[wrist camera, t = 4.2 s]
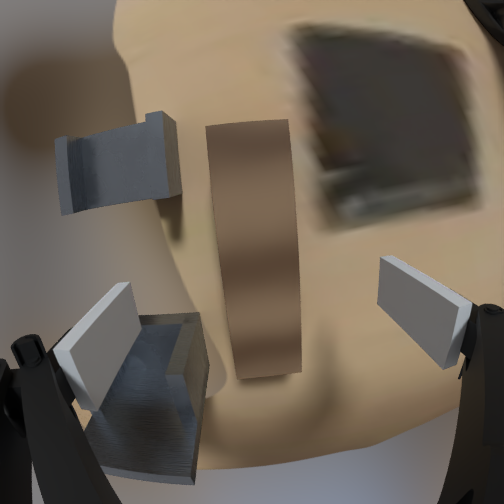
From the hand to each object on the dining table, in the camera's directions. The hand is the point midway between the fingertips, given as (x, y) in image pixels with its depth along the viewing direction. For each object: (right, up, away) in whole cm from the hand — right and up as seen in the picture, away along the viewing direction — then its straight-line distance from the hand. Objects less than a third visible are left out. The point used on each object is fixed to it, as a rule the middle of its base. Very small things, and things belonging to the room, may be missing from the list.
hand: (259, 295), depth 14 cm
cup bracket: (-9, -7, +12) cm, 16 cm away
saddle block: (-11, +9, +8) cm, 16 cm away
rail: (0, +3, +10) cm, 10 cm away
